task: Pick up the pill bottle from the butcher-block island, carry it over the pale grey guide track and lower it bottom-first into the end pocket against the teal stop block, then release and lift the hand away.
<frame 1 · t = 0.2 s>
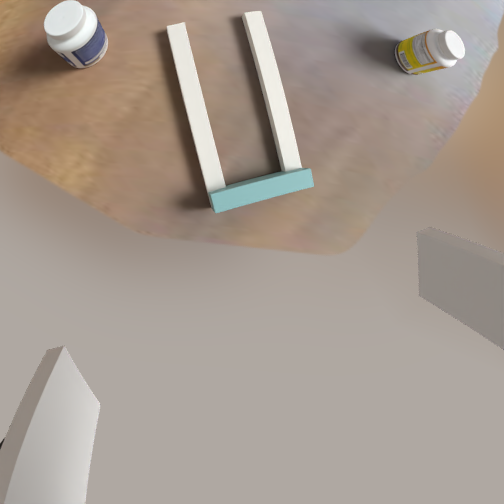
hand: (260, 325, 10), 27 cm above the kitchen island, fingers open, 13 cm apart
guide track: (234, 103, 34), on the kitchen island
supplement bottle: (406, 58, 37), on the kitchen island
pill bottle: (87, 49, 28), on the kitchen island
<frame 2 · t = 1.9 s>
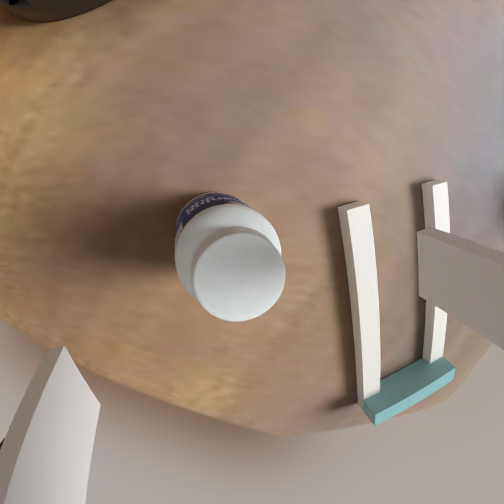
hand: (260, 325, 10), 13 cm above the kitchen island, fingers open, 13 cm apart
guide track: (400, 303, 29), on the kitchen island
pill bottle: (212, 228, 23), on the kitchen island
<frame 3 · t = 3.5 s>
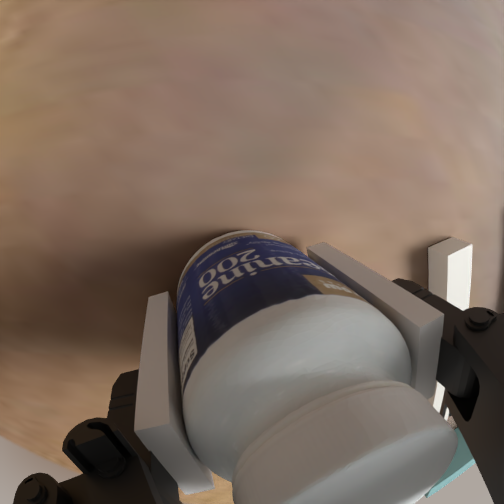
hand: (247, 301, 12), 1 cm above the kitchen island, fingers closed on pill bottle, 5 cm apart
guide track: (472, 361, 19), on the kitchen island
pill bottle: (242, 291, 13), on the kitchen island, touching gripper
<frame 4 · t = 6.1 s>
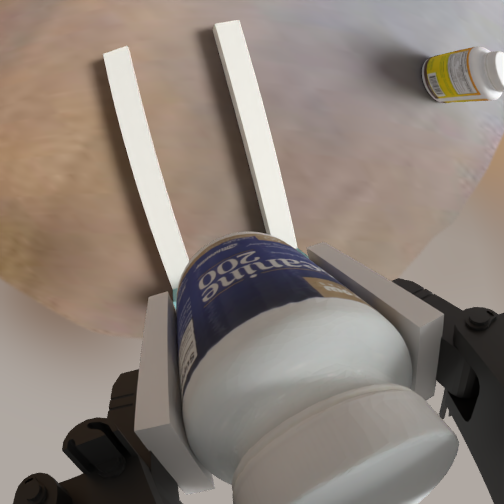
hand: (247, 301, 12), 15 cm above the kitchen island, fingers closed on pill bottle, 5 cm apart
guide track: (203, 161, 25), on the kitchen island
supplement bottle: (435, 80, 28), on the kitchen island
pill bottle: (242, 292, 13), point 15 cm above the kitchen island, touching gripper
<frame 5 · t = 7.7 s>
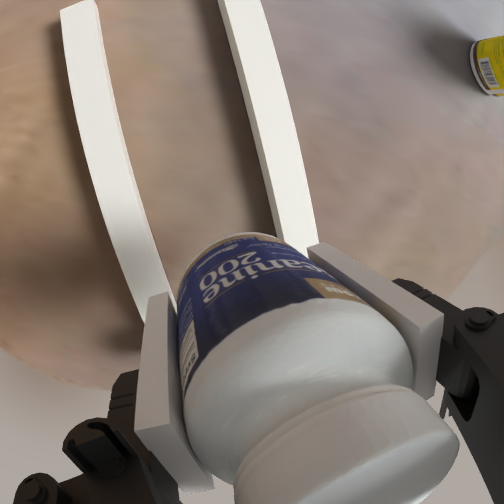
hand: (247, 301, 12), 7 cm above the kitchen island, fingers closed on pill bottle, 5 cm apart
guide track: (194, 155, 17), on the kitchen island
supplement bottle: (482, 68, 20), on the kitchen island
pill bottle: (242, 293, 13), point 6 cm above the kitchen island, touching gripper
when the fingers open (2 cm above the kitchen island, at t = 8.9 s): pill bottle drops 1 cm, resting in guide track.
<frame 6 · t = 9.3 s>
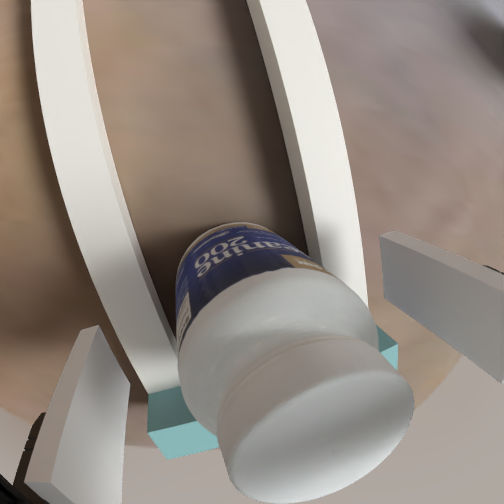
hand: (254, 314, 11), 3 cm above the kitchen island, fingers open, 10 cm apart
guide track: (202, 156, 12), on the kitchen island
pill bottle: (235, 278, 14), resting in guide track
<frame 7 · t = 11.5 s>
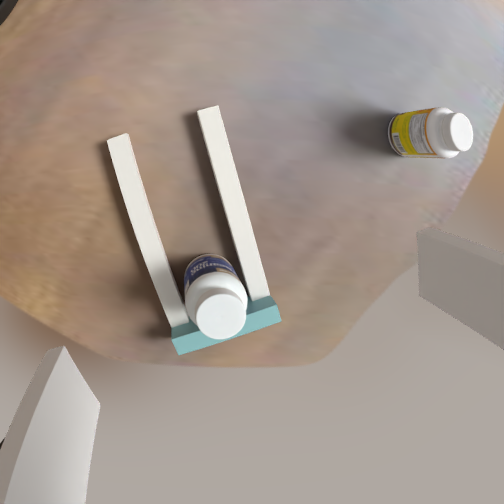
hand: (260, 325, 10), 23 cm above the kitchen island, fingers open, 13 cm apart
guide track: (193, 228, 32), on the kitchen island
supplement bottle: (401, 135, 35), on the kitchen island
pill bottle: (208, 276, 34), resting in guide track
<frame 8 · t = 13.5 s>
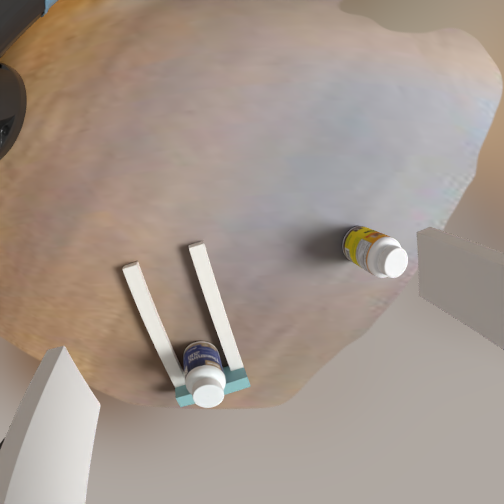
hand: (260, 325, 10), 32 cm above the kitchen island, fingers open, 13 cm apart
guide track: (188, 324, 44), on the kitchen island
supplement bottle: (355, 242, 47), on the kitchen island
pill bottle: (200, 354, 46), resting in guide track
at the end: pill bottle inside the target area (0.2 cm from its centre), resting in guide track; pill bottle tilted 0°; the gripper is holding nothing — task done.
